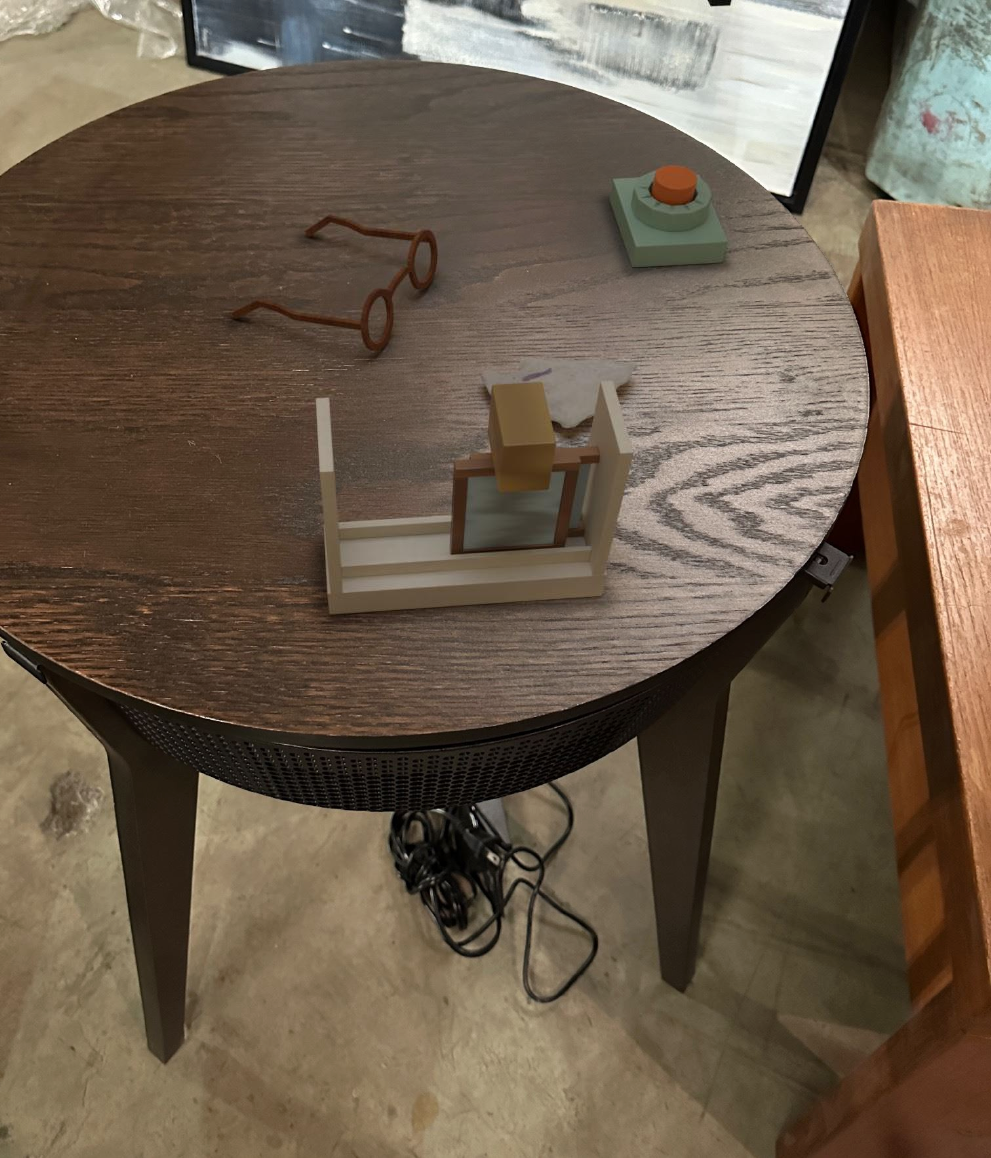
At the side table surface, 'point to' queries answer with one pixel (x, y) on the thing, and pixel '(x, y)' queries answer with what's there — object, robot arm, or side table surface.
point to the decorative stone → (566, 384)
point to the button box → (666, 225)
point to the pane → (514, 480)
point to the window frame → (437, 579)
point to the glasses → (384, 293)
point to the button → (674, 185)
